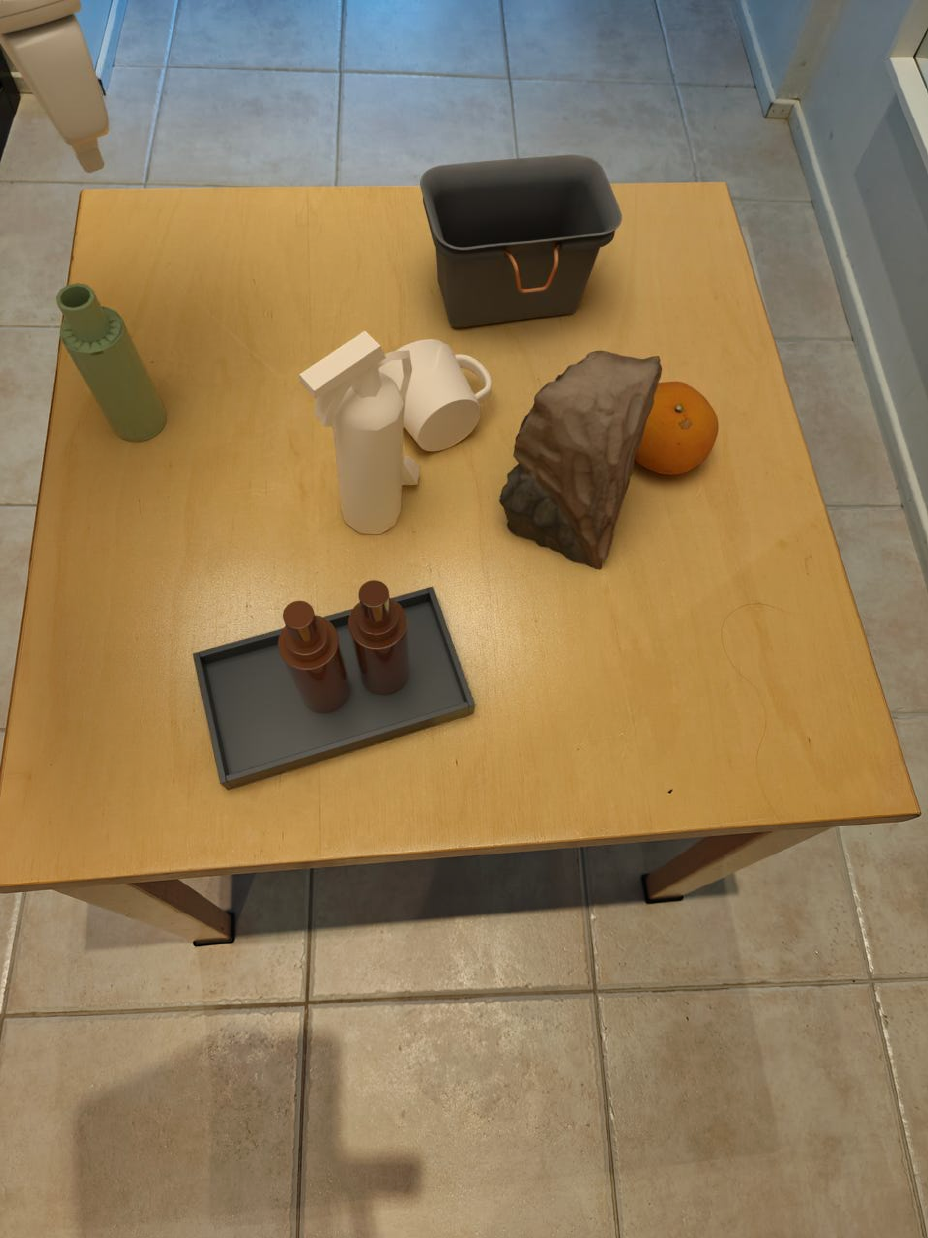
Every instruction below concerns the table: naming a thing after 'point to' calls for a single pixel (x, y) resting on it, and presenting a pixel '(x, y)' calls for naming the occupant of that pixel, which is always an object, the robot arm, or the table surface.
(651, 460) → the fruit
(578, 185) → the storage bin
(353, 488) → the fire extinguisher
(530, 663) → the table surface
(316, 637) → the bottle row
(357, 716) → the tray
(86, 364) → the green bottle
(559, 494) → the brown rock chunk
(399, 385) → the mug
